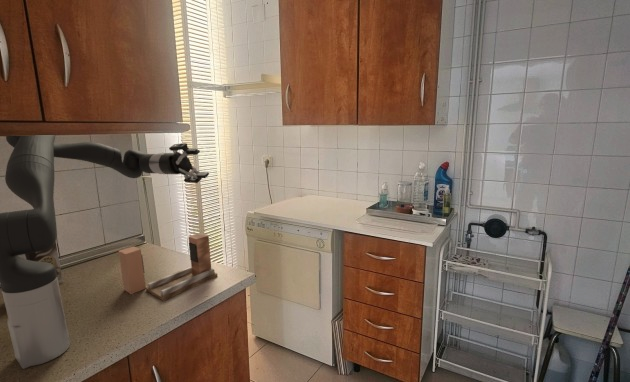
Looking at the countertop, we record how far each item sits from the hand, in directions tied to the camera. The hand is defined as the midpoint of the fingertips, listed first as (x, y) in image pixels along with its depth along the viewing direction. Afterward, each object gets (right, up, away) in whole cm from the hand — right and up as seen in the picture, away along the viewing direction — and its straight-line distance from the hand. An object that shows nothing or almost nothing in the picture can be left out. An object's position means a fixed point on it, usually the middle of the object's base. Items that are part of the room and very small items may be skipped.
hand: (202, 163), depth 110 cm
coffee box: (-49, -40, -6) cm, 64 cm away
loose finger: (-19, -40, -7) cm, 45 cm away
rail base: (-5, -39, -4) cm, 40 cm away
